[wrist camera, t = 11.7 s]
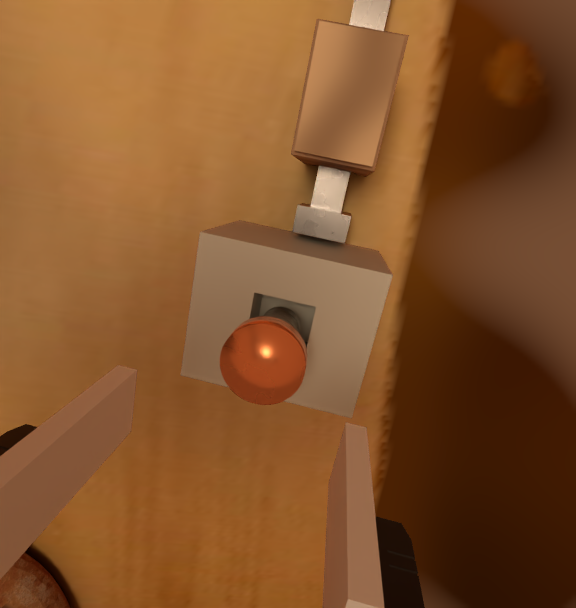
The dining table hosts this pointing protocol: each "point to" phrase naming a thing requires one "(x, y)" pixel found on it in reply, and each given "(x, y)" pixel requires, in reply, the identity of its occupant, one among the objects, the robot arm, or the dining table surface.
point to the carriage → (347, 96)
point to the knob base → (288, 305)
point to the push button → (265, 357)
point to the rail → (333, 182)
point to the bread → (30, 586)
